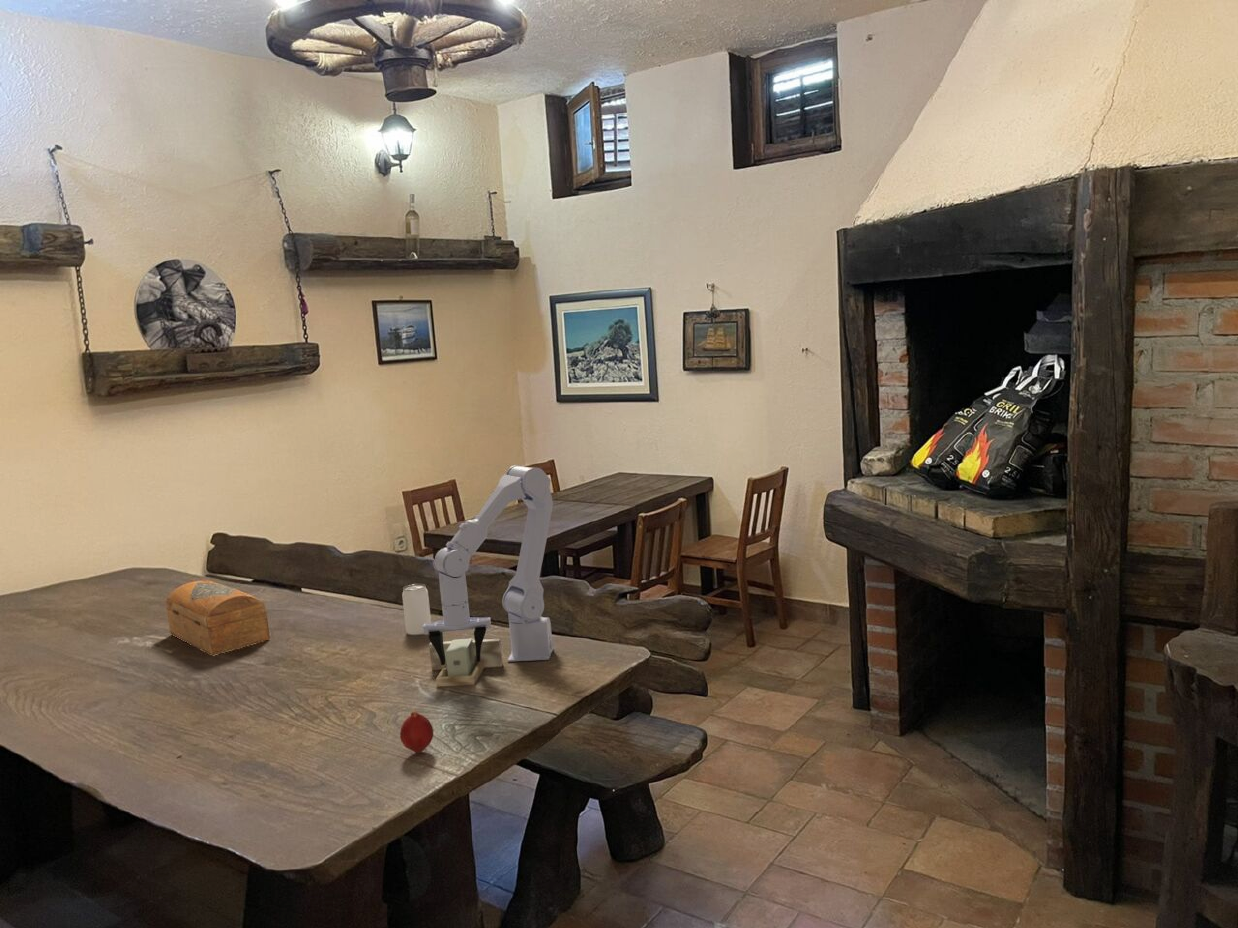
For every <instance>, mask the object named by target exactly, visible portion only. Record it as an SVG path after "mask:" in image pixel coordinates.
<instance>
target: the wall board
mask: <svg viewBox="0 0 1238 928" xmlns="http://www.w3.org/2000/svg"><path fill="white" fill-rule="evenodd" d="M472 641H473V651H474V661H475V669H474V671H473V672H472V674H471V676H452V677H448V670H447V661H446V650H447V649H448V647H449V645H450V644H451V642H452V640H449V641H444V640H443V647H444V653H445V661H446V662H445V665H441V661H440V658H439V656H438V653H437V651H436V649H435V648H434V646H433V645H432V643H431V642H430V643H429V644H428V648H429V657H430V665H431V666H430V667H431V670H432V671H436V670H437V671H438V670H441V671H440V672H439V674H438V675H437V677H436V679H435V681H436V687H453V686H454V687H456V686H474V685H475V684H476V682H477V681H478V679H479V677H480V675H481V673H482V672H483V670H484V668H498V667H502V666H503V654H502V644H501V638H492V639H491V638H490V639H489V638H487V639H486V638H484V639H483V642H482V645H481V652H480V661H479V662H477V661H476V645H475V639H472Z"/></svg>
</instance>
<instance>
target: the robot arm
mask: <svg viewBox="0 0 1238 928" xmlns="http://www.w3.org/2000/svg"><path fill="white" fill-rule="evenodd" d="M497 484H498V485H497V486H496V487H495V489H494V490H493V492H492V494H491V495H490V496H489V498H488V499H487V500H486V502H485V503H484V505H483V506H482V508H481V510H479V512H478V513H477V515H476V516H475V518H473V519H468V520H466V521H465V522H461V523H460V524H459V526H458V528H459V530H458V531H457V532H456V533H455V534H454V536H453V537H452V539H451V540H450V541H447V543H446V544H445V546H446V547H443V548H440V550H438V551H437V552H436V554H435V556H434V561H432V566H433V568H434V569H435V571H437V572H438V579H439V591H440V600H441V608H442V609H441V610H442V618H443V619H442V620H439V621H433V622H432V621H431V623H425V624H424V626H423V630H424V634H423V635H428V639H429V642H430V643H432V645H433V646H434V648H435V649H436V651H437V653H438V656H439V658H440V661H441V665H445V662H446V661H445V653H444V647H443V642H444V636H443V635H444V633H445V632H446V633H447V632H455V631H465V630H468V631H469V630H474V631H473V637H474V638H473V639H474V640H475V645H476V661H477V662H479V661H480V652H481V645H482V642H483V640H484V639H485V636H486V631H487V629H492V621H491V617H470V609H469V608H470V606H469V598H468V597H469V595H468V587H467V585H468V584H467V579H466V572H467V571H469V568H470V560H471V559H472V557H473V556H474V554H475V553H476V551H477V550H478V549H479V548H480V546H481V545H482V544H483V543H484V541H485V540H486V539H487V537H488V528H489V526H490V525H491V524H492V523H493V522H494V521H495V519H496V518H497V517H498V516H499V515H500V514H501V513H502V512H503V510H504V509H505V508H506V507H507V506H508V505H509V503H510V502H514V501H520V500H522V501H523V503H524V504H525V505H526V507H527V508H528V509H527V515H526V519H525V525H524V530H523V535H522V541H521V547H520V552H519V557H518V561H517V562H518V563H517V567H516V573H515V575H514V576H513V577H512V578H511V579H510V580H509V581H508V586H507V588H506V591H505V592H504V594H503V595H502V599H501V604H502V608H503V609H504V611H506V612H507V614H508V625H509V626H508V627H509V628H508V629H509V636H510V637H509V638H510V649H511V653H510V655H509V657H508V658H507V662H508V663H509V662H510V663H511V662H530V661H531V662H533V661H548V660H550V658H551V655H552V653H553V650H554V645H553V637H552V623H551V619H550V617H549V616H548V617H544V616H542V615H543V612H544V610H545V601H544V587H543V585H542V583H541V580H540V577H541V572H542V567H543V565H542V564H543V560H544V556H545V549H546V546H547V545H546V544H547V539H548V535H549V534H548V533H549V529H550V524H551V523H550V522H551V518H552V512H553V508H554V501H553V497H552V493H551V488H550V487H551V479H550V477H549V476H548V475H547V474H546V471H544V470H543V469H541V468H539V467H530V466H523V465H521V464H515V465H511V466H510V467H509V468H508V469H507V470H506V472H505V474H503V475H502V476H501V477H500V478H499V481H498V483H497Z"/></svg>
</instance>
